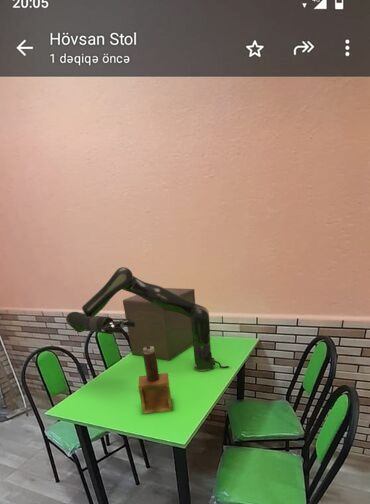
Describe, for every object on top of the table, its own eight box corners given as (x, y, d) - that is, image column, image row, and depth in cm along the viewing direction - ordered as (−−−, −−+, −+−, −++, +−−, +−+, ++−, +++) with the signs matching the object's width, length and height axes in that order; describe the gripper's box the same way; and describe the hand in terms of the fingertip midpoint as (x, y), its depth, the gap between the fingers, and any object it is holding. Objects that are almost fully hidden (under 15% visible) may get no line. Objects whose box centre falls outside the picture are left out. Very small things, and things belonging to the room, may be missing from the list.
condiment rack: (171, 399, 158) (167, 372, 151) (172, 410, 150) (168, 382, 143) (143, 402, 158) (139, 376, 151) (143, 413, 150) (138, 385, 142)
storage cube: (169, 361, 199) (162, 302, 182) (132, 354, 214) (122, 299, 196) (198, 341, 224) (194, 288, 206) (162, 337, 238) (156, 287, 220)
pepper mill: (159, 375, 149) (154, 342, 141) (159, 381, 145) (154, 347, 137) (147, 377, 149) (141, 344, 141) (147, 382, 145) (141, 348, 137)
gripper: (88, 321, 149) (116, 323, 141) (110, 312, 159) (137, 314, 152) (92, 337, 153) (119, 340, 145) (113, 327, 163) (139, 330, 155)
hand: (128, 327), depth 148 cm, fingers open, 8 cm apart
